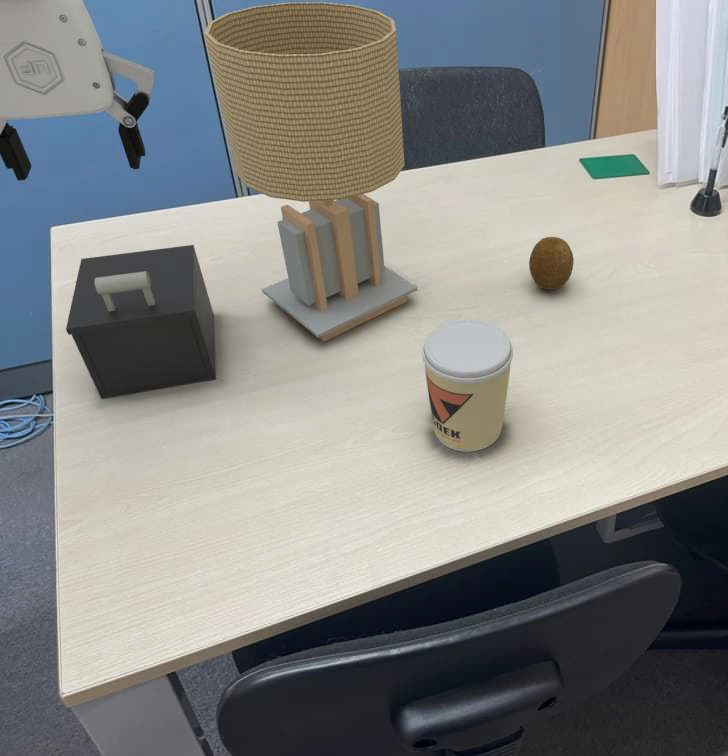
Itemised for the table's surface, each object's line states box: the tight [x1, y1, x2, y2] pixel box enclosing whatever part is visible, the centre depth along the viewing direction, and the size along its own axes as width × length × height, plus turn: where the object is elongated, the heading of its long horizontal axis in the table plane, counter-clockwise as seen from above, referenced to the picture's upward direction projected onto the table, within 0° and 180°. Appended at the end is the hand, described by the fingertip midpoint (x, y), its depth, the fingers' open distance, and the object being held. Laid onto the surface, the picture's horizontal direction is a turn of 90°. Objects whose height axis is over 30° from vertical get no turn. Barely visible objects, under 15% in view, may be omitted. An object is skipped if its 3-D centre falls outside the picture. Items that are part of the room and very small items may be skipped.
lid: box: [65, 244, 196, 336], centre depth 80 cm, size 14×13×5 cm
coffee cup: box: [421, 318, 514, 453], centre depth 76 cm, size 9×9×12 cm
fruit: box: [528, 236, 575, 290], centre depth 100 cm, size 6×6×8 cm
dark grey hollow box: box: [71, 251, 217, 400], centre depth 85 cm, size 14×13×10 cm
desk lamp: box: [203, 1, 418, 342], centre depth 86 cm, size 20×20×35 cm
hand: (81, 168), depth 68 cm, fingers open, 9 cm apart
